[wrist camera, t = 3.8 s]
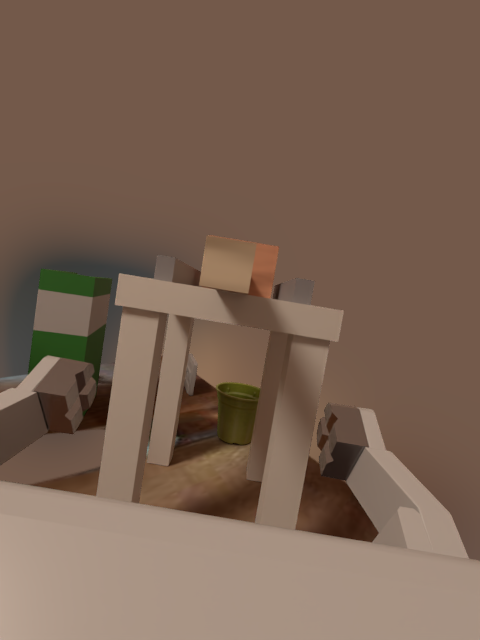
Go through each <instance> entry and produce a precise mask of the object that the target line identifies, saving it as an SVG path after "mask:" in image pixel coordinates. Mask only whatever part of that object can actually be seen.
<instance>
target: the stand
mask: <svg viewBox="0 0 480 640" xmlns="http://www.w3.org/2000/svg"><path fill="white" fill-rule="evenodd" d="M200 276H201V272H200V271H198V270H196V269H194V268H193V267H191V266H189V265H187V264H185V263H184V262H182V261H180V260H178V259H176V258H173V257H167V256H160V255H157V261H156V268H155V274H154V279H150V278H144V277H138V276H131V275H126V274H119V279H118V286H117V293H116V300H115V305H120V306H123V311H122V319H121V325H120V332H119V340H118V347H117V354H116V361H115V368H114V375H113V382H112V389H111V396H110V403H109V410H108V417H107V424H106V431H105V438H104V445H103V453H102V459H101V466H100V474H99V481H98V488H97V495H96V496H97V497H103V498H109V499H115V500H121V501H127V502H133V503H139V499H140V493H141V486H142V479H143V473H144V466H145V459H146V453H147V446H148V440H149V433H150V426H151V420H152V413H153V407H154V400H155V393H156V387H157V380H158V373H159V367H160V360H161V354H162V347H163V340H164V333H165V327H166V321H167V314H169V320H168V326H167V333H166V339H165V346H164V352H163V359H162V365H161V372H160V379H159V385H158V392H157V398H156V405H155V412H154V418H153V425H152V431H151V438H150V445H149V451H148V458H147V463H152V464H157V465H163V466H169V463H170V461H171V459H172V457H173V451H174V445H175V438H176V432H177V426H178V419H179V413H180V407H181V400H182V394H183V387H184V381H185V375H186V368H187V362H188V356H189V349H190V343H191V336H192V329H193V323H194V318H198V319H204V320H210V321H216V322H222V323H228V324H234V325H240V326H247V327H253V328H258V329H264V330H270V336H269V343H268V348H267V353H266V359H265V365H264V371H263V377H262V382H261V388H260V394H259V400H258V405H257V411H256V417H255V423H254V428H253V434H252V440H251V446H250V452H249V457H248V463H247V480H253V481H259V482H262V485H261V491H260V496H259V502H258V508H257V513H256V519H255V523H258V524H264V525H270V526H276V527H282V528H288V529H294V530H295V527H296V521H297V516H298V511H299V505H300V500H301V495H302V489H303V484H304V478H305V473H306V468H307V462H308V457H309V451H310V446H311V440H312V435H313V430H314V425H315V419H316V414H317V408H318V403H319V398H320V392H321V387H322V382H323V376H324V371H325V365H326V360H327V355H328V349H329V344H330V341H336V342H338V339H339V334H340V329H341V323H342V318H343V313H344V311H342V310H335V309H330V308H324V307H318V306H311V305H310V304H311V298H312V293H313V287H314V281H311V280H305V279H299V278H295V279H292V280H290V281H287V282H284V283H281V284H279V285H276V286H275V288H274V294H273V299H270V298H264V297H258V296H252V295H246V294H240V293H234V292H228V291H222V290H216V289H210V288H204V287H201V286H199V282H200Z"/></svg>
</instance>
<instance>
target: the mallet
mask: <svg viewBox="0 0 480 640" xmlns="http://www.w3.org/2000/svg"><path fill="white" fill-rule="evenodd" d="M278 251H279V247H278V246H272V245H266V244H260V243H254V242H248V241H242V240H236V239H229V238H223V237H218V236H212V235H209V236H208V235H207V238H206V244H205V250H204V257H203V263H202V269H201V276H200V282H199V286H201V287H204V288H210V289H216V290H222V291H228V292H234V293H240V294H246V295H252V296H258V297H264V298H270V297H271V291H272V286H273V280H274V274H275V268H276V262H277V257H278Z"/></svg>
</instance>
